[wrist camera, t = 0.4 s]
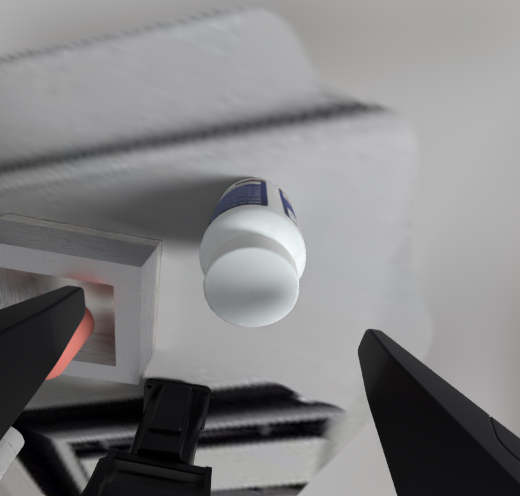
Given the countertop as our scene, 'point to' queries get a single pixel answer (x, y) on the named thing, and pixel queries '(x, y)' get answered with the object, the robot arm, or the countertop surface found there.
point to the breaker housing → (89, 288)
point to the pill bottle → (252, 255)
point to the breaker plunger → (74, 344)
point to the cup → (9, 448)
